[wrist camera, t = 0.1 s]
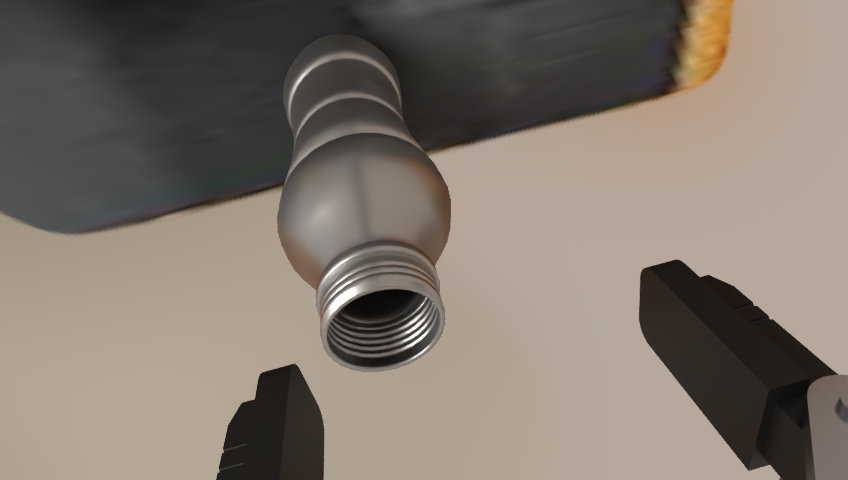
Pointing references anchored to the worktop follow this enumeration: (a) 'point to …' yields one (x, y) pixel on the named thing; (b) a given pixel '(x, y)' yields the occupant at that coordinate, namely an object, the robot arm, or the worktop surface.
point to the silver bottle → (362, 207)
